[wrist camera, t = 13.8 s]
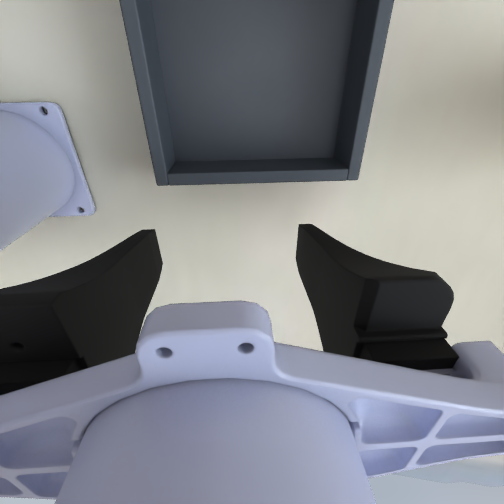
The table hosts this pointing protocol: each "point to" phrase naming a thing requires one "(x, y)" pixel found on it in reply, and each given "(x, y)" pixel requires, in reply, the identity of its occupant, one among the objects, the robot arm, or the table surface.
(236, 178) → the tub
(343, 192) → the table surface
